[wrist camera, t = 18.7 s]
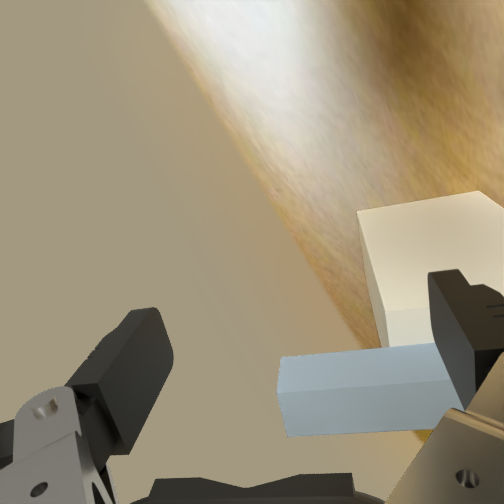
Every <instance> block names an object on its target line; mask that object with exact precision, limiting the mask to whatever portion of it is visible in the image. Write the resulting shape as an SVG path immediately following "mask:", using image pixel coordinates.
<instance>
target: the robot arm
mask: <svg viewBox="0 0 504 504" xmlns="http://www.w3.org/2000/svg"><path fill="white" fill-rule="evenodd" d="M427 281H428V294H429V307H430V320H431V328H432V333H433V338H434V341H435V344H436V347H437V349H438V351H439V353H440V356H441V358H442V360H443V363H444V365H445V367H446V370H447V372H448V374H449V376H450V379H451V381H452V383H453V386H454V388H455V390H456V393H457V395H458V397H459V399H460V402H461V404H462V406H463V409H464V411H465V412H464V411H461V410H458V409H456V408H450V409H449V410H448V411H446V413H445V414H444V415H443V417H442V418H441V420H440V421H439V423H438V424H437V426H436V427H435V429H434V430H433V432H432V433H431V435H430V436H429V438H428V439H427V440H426V442H425V443H424V445H423V446H422V448H421V449H420V451H419V452H418V454H417V455H416V457H415V458H414V460H413V461H412V463H411V465H410V466H409V467H408V469H407V470H406V472H405V473H404V475H403V476H402V478H401V480H400V481H399V482H398V484H397V485H396V487H395V488H394V490H393V491H392V493H391V494H390V496H389V497H388V499H387V500H386V502H385V501H383V500H381V499H379V498H377V497H374V496H371V495H368V494H365V493H361V492H357V491H355V488H354V483H353V477H352V473H331V474H299V475H296V476H292V477H288V478H284V479H281V480H277V481H274V482H269V483H265V484H262V485H258V486H255V487H250V488H242V487H237V486H233V485H229V484H225V483H221V482H217V481H213V480H208V479H204V478H200V477H199V478H170V479H169V478H168V479H155V481H154V484H153V486H152V489H151V491H150V494H149V496H148V497H145V498H142V499H140V500H137V501H135V502H132V503H131V504H504V297H503V295H502V294H501V293H500V292H498V291H496V290H494V289H492V288H490V287H488V286H486V285H484V284H478V285H470V284H469V283H468V281H467V280H466V278H465V277H464V276H463V274H462V273H461V272H460V270H459V269H451V270H443V271H435V272H429V273H428V277H427ZM172 366H173V350H172V346H171V343H170V340H169V338H168V335H167V332H166V329H165V326H164V323H163V320H162V317H161V315H160V312H159V311H158V309H157V308H154V307H152V308H144V309H137V310H131V311H130V312H129V313H128V315H127V316H126V317H125V318H124V319H123V321H122V322H121V323H120V324H119V326H118V327H117V328H116V329H115V330H113V331H112V332H110V333H109V334H108V335H106V336H105V337H104V338H103V339H102V340H101V342H99V344H98V345H97V346H96V347H95V350H93V351H92V352H91V354H90V355H89V356H88V359H86V360H85V361H84V362H83V363H82V365H81V366H80V367H79V368H78V369H77V371H76V372H75V373H74V374H73V376H72V377H71V378H70V379H69V380H68V382H67V383H66V384H65V385H64V386H61V387H55V388H51V389H48V390H46V391H43V392H41V393H39V394H38V395H36V396H34V397H33V398H31V399H30V400H29V401H27V402H26V403H25V404H24V405H23V406H22V407H21V408H20V409H19V411H18V412H17V414H16V416H15V419H13V420H10V421H7V422H3V423H0V504H119V501H118V497H117V493H116V490H115V486H114V482H113V478H112V474H111V471H110V468H109V466H108V464H107V460H108V458H109V456H110V455H129V454H130V451H131V450H132V448H133V445H134V443H135V441H136V440H137V438H138V436H139V433H140V432H141V430H142V427H143V425H144V424H145V421H146V419H147V417H148V415H149V413H150V411H151V409H152V407H153V405H154V403H155V401H156V399H157V397H158V395H159V393H160V391H161V389H162V387H163V385H164V383H165V381H166V379H167V377H168V375H169V373H170V371H171V369H172Z"/></svg>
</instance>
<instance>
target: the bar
mask: <svg viewBox="0 0 504 504" xmlns="http://www.w3.org/2000/svg"><path fill="white" fill-rule="evenodd" d="M277 397H278V401H279V405H280V409H281V413H282V417H283V421H284V425H285V429H286V433H287V437H294V436H312V435H330V434H350V433H368V432H387V431H406V430H424V429H435V427H436V426H437V424H438V423H439V421H440V420H441V418H442V417H443V415H444V414H445V413H446V411H448V410H449V409H450V408H456V409H458V410H461V411H464V409H463V406H462V404H461V402H460V399H459V397H458V395H457V393H456V390H455V388H454V386H453V383H452V381H451V379H450V376H449V374H448V372H447V370H446V367H445V365H444V363H443V360H442V358H441V356H440V353H439V351H438V349H437V347H436V344H435V343H426V344H416V345H405V346H395V347H384V348H374V349H363V350H353V351H343V352H332V353H322V354H311V355H301V356H291V357H281V362H280V370H279V378H278V386H277ZM464 412H465V411H464Z"/></svg>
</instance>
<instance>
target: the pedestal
mask: <svg viewBox="0 0 504 504" xmlns="http://www.w3.org/2000/svg"><path fill="white" fill-rule="evenodd" d="M356 212H357V219H358V226H359V234H360V241H361V248H362V255H363V263H364V270H365V277H366V283H367V288H368V292H369V296H370V300H371V305H372V309H373V313H374V317H375V322H376V326H377V330H378V334H379V339H380V343H381V347H382V348H384V347H395V346H405V345H416V344H426V343H435V341H434V338H433V333H432V328H431V320H430V307H429V294H428V281H427V277H428V273H429V272H435V271H443V270H451V269H459V270H460V272H461V273H462V274H463V276H464V277H465V278H466V280H467V281H468V283H469V284H470V285H478V284H484V285H486V286H488V287H490V288H492V289H494V290H496V291H498V292H500V293H501V294H502V295H503V297H504V208H503V207H501V206H500V205H498V204H497V203H495V202H494V201H493V200H491V199H490V198H488V197H487V196H486V195H484V194H483V193H481V192H480V191H474V192H468V193H462V194H456V195H450V196H444V197H438V198H432V199H426V200H420V201H414V202H408V203H402V204H396V205H390V206H384V207H378V208H372V209H366V210H360V211H356Z"/></svg>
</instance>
